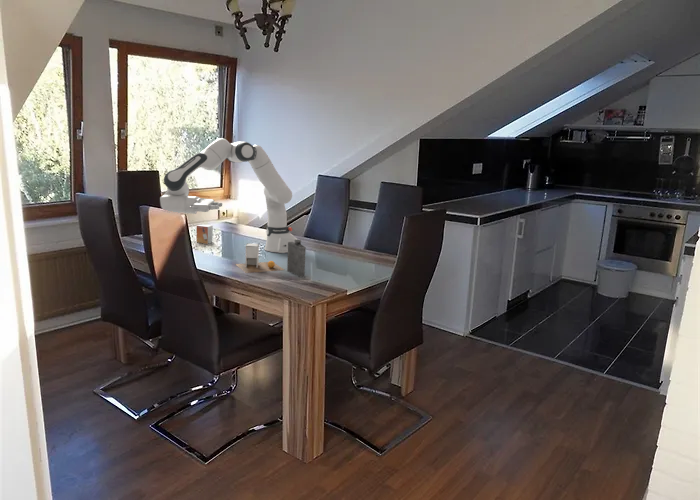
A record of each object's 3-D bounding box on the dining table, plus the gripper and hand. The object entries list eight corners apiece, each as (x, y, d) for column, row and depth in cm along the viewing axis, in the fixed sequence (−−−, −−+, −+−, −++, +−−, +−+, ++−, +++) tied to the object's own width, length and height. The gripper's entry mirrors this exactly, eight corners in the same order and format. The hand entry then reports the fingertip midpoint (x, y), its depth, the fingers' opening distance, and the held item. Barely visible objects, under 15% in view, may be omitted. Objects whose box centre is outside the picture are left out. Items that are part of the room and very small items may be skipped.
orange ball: (273, 266, 277) (273, 259, 276) (275, 268, 274) (275, 261, 273) (266, 267, 275) (266, 260, 274) (268, 268, 272) (269, 261, 271)
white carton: (246, 264, 278) (246, 243, 276) (258, 264, 279) (258, 243, 277) (245, 267, 273) (245, 245, 270) (257, 267, 273) (257, 246, 271)
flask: (292, 272, 273) (293, 237, 269) (306, 279, 262) (308, 242, 258) (286, 272, 271) (287, 237, 267) (300, 280, 260) (301, 243, 256)
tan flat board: (272, 263, 287) (272, 261, 287) (284, 272, 272) (284, 269, 272) (235, 266, 278) (235, 264, 278) (245, 275, 262) (245, 273, 262)
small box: (196, 242, 328) (196, 225, 326) (201, 241, 333) (201, 224, 331) (207, 244, 326) (207, 226, 324) (212, 242, 331) (212, 225, 329)
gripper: (188, 201, 264) (217, 202, 266) (196, 196, 284) (223, 197, 285) (188, 214, 266) (217, 215, 267) (197, 208, 286) (223, 209, 287)
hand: (220, 206), depth 276 cm, fingers open, 8 cm apart
